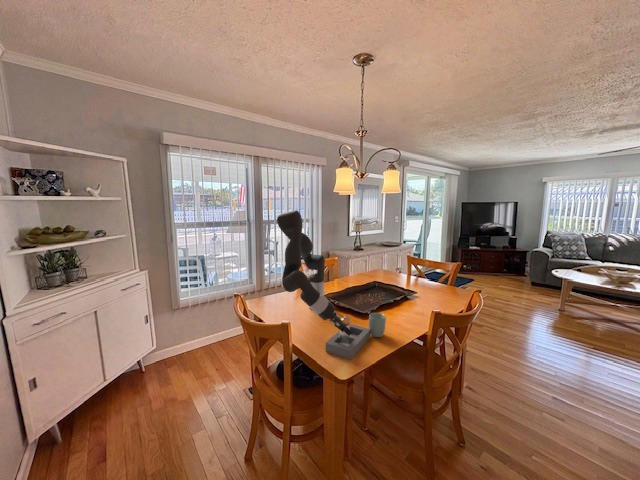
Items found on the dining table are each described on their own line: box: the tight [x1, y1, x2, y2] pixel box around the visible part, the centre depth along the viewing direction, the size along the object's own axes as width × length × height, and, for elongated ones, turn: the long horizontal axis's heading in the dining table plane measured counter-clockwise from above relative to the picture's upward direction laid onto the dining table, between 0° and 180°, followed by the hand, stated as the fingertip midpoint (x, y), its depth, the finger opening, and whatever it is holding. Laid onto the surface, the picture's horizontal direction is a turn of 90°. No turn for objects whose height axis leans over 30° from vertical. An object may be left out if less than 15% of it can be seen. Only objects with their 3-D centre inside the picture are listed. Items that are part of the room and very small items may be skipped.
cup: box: [368, 312, 387, 338], centre depth 125 cm, size 8×8×10 cm
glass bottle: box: [338, 315, 351, 343], centre depth 113 cm, size 4×4×11 cm
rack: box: [325, 323, 371, 361], centre depth 118 cm, size 12×22×4 cm, turn 148°
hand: (348, 330), depth 113 cm, fingers closed on glass bottle, 4 cm apart
